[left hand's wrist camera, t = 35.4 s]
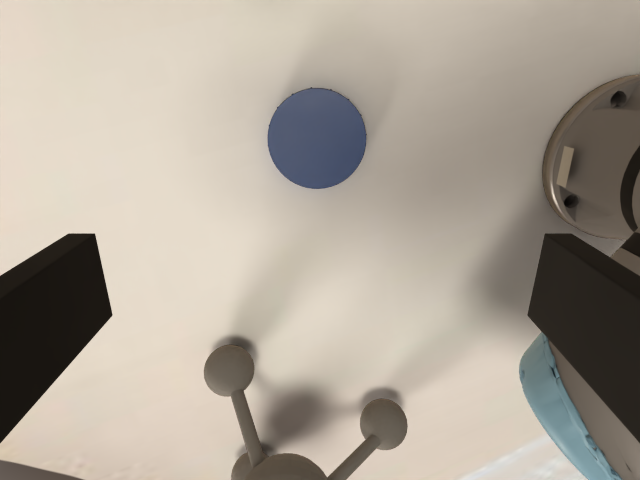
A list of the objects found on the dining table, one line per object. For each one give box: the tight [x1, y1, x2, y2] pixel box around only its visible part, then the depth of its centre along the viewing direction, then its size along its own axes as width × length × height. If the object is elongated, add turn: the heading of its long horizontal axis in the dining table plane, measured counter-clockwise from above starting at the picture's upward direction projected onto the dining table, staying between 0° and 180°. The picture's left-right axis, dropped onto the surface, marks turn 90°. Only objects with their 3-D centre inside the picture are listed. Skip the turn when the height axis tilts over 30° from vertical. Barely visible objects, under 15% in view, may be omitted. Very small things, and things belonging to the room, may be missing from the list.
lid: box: [268, 87, 366, 189], centre depth 39 cm, size 9×9×2 cm
